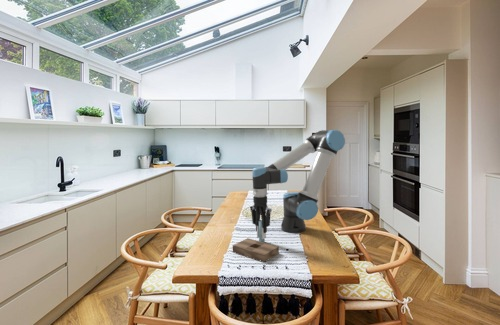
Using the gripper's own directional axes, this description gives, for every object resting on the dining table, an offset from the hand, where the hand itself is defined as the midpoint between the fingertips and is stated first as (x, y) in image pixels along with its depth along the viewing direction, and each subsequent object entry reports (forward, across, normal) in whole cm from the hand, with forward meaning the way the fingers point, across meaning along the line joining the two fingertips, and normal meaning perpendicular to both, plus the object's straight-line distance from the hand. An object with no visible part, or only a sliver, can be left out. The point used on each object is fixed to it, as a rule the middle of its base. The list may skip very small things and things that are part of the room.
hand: (261, 237), depth 153 cm
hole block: (+3, +6, -13) cm, 14 cm away
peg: (+3, 0, 0) cm, 3 cm away
